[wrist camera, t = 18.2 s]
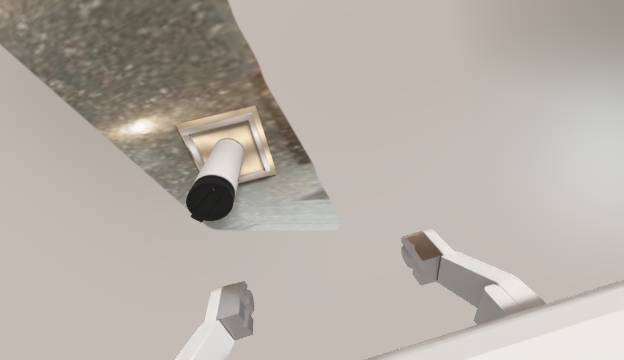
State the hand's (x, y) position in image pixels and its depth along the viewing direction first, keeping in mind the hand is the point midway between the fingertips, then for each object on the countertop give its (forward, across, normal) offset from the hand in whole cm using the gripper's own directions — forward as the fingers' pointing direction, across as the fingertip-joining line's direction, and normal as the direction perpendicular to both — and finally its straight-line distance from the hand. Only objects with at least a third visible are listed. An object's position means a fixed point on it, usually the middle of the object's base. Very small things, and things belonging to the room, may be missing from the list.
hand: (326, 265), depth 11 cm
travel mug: (+40, +13, +7) cm, 43 cm away
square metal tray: (+41, +13, +7) cm, 44 cm away
